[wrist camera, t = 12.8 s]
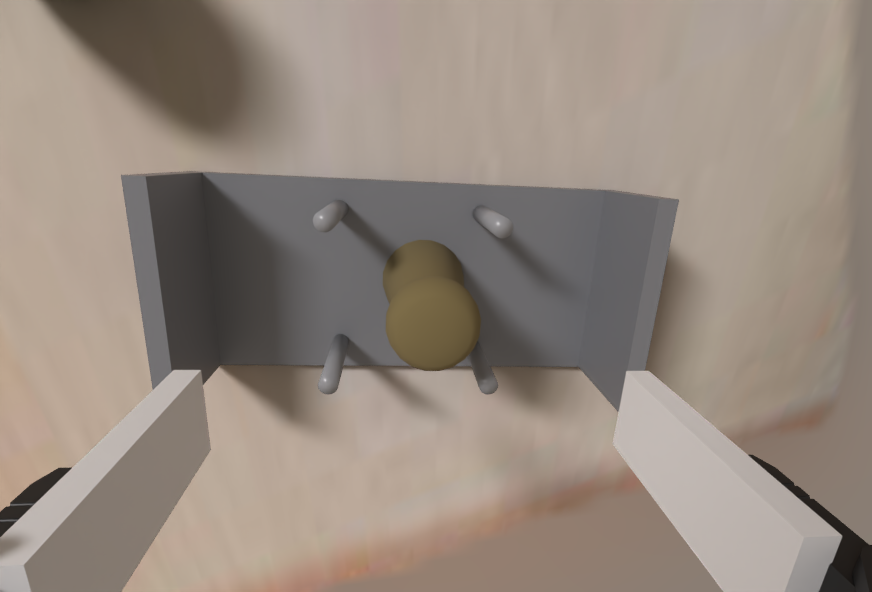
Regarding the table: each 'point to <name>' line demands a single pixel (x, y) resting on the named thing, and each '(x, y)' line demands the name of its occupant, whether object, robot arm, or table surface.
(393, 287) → the cork
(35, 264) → the table surface
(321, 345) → the rack
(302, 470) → the table surface
